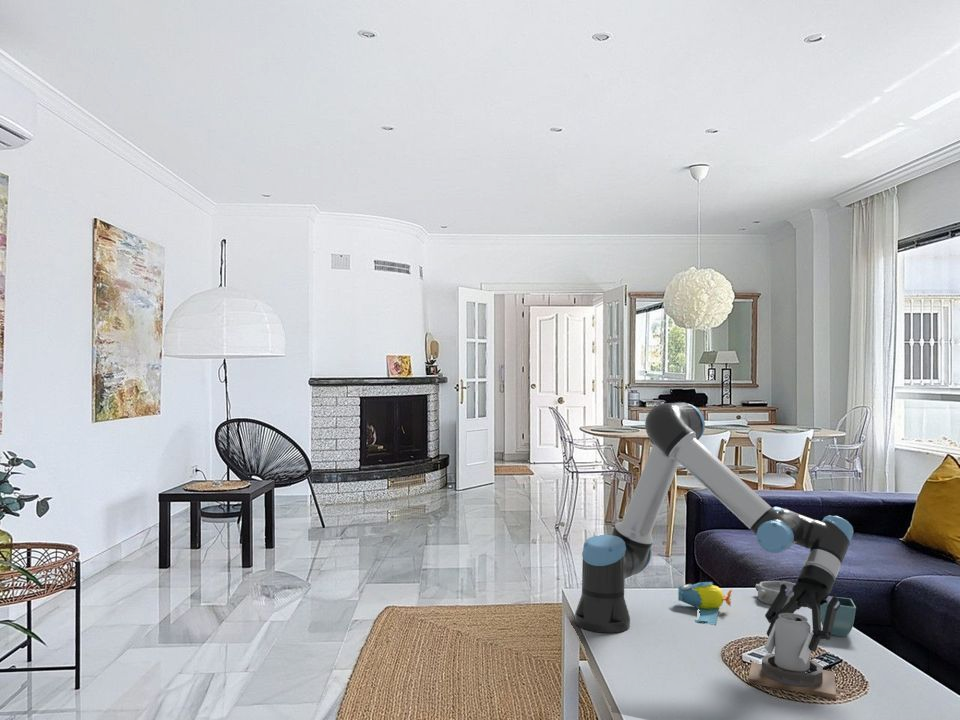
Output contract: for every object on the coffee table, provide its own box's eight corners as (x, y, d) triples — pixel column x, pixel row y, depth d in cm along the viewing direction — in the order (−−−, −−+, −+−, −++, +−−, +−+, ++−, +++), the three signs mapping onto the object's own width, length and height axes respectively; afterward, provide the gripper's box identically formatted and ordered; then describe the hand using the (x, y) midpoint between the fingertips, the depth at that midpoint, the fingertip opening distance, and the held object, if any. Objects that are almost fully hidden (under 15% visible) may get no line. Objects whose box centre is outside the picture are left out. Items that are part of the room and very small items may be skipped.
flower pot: (851, 630, 206) (851, 598, 206) (855, 641, 198) (856, 607, 198) (816, 626, 209) (817, 594, 209) (819, 636, 200) (820, 603, 201)
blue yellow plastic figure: (728, 597, 206) (672, 591, 212) (728, 628, 206) (672, 621, 212) (733, 573, 232) (683, 568, 238) (733, 601, 232) (683, 595, 238)
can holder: (747, 682, 168) (748, 667, 168) (752, 661, 181) (752, 647, 181) (835, 699, 161) (836, 683, 161) (834, 676, 174) (834, 661, 174)
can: (813, 676, 167) (814, 623, 167) (777, 673, 168) (778, 620, 168) (805, 664, 174) (806, 612, 174) (771, 660, 175) (772, 609, 176)
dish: (804, 599, 235) (805, 583, 235) (804, 611, 222) (804, 594, 222) (756, 592, 241) (756, 577, 241) (753, 604, 228) (753, 588, 228)
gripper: (867, 592, 174) (835, 679, 163) (783, 573, 189) (749, 651, 178) (858, 573, 170) (824, 660, 159) (773, 555, 186) (738, 633, 175)
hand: (784, 655), depth 169 cm, fingers closed on can, 7 cm apart
